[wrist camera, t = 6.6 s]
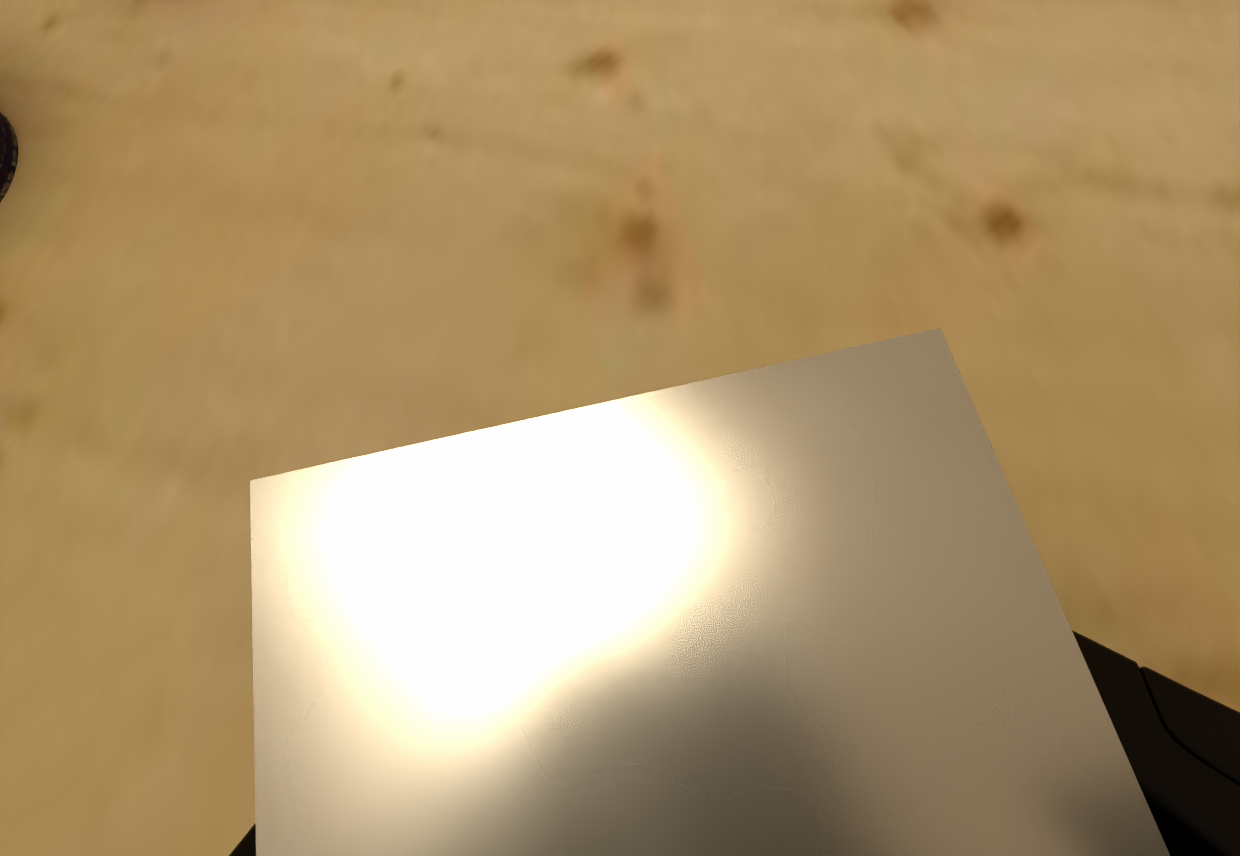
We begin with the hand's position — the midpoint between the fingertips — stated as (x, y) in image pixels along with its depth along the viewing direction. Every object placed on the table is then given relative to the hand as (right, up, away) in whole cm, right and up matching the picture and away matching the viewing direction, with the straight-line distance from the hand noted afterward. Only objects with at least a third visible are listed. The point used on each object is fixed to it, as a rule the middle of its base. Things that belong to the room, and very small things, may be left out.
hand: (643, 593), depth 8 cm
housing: (+1, -3, +6) cm, 7 cm away
